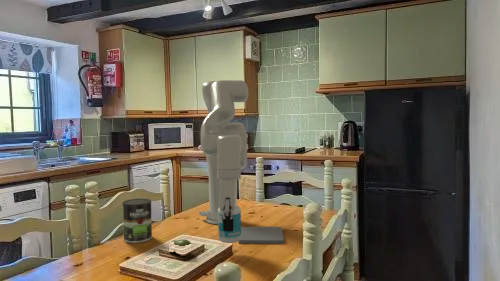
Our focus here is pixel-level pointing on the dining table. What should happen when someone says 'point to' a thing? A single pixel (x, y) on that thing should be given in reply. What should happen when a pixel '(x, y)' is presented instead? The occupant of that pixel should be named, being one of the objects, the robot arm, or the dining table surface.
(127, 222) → the coffee can
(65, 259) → the dining table surface
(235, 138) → the robot arm
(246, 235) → the plate
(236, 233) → the pill bottle
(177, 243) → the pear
